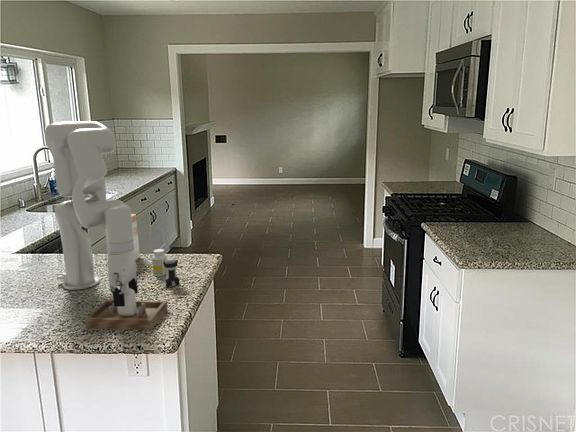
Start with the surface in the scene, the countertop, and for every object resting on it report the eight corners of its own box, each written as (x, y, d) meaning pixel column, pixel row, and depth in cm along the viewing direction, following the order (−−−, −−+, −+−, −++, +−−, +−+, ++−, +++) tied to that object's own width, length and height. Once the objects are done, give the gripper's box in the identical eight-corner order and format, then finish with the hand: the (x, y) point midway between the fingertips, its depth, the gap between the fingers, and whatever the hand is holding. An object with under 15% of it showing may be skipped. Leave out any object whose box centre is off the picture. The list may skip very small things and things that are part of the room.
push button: (164, 289, 171) (162, 263, 169) (159, 285, 175) (156, 259, 173) (182, 285, 175) (180, 259, 173) (176, 281, 179) (174, 255, 177)
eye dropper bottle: (126, 318, 145) (122, 281, 142) (116, 314, 148) (111, 277, 145) (139, 313, 148) (134, 277, 145) (128, 309, 152) (124, 273, 149)
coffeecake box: (125, 256, 210) (121, 213, 205) (140, 257, 209) (136, 213, 204) (108, 268, 195) (103, 221, 191) (124, 268, 194) (120, 222, 190)
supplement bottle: (157, 277, 184) (155, 253, 182) (150, 274, 188) (148, 250, 186) (170, 273, 187) (168, 250, 185) (163, 270, 191) (161, 247, 189)
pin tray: (86, 328, 143) (84, 314, 142) (107, 308, 156) (106, 295, 155) (151, 329, 141) (150, 315, 140) (167, 309, 154) (166, 296, 153)
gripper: (121, 237, 152) (126, 288, 156) (95, 254, 135) (101, 311, 139) (144, 238, 151) (148, 289, 155) (120, 255, 134) (126, 311, 138)
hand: (126, 299), depth 147 cm, fingers open, 9 cm apart
